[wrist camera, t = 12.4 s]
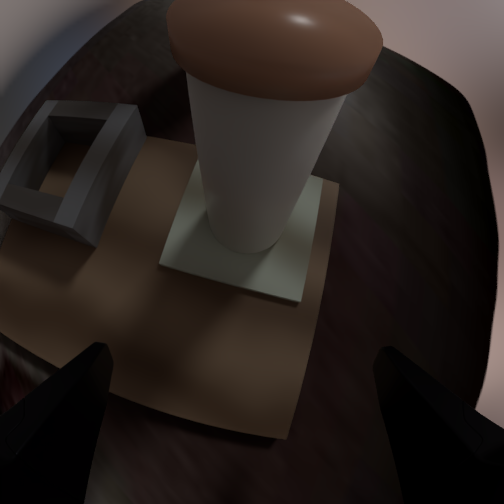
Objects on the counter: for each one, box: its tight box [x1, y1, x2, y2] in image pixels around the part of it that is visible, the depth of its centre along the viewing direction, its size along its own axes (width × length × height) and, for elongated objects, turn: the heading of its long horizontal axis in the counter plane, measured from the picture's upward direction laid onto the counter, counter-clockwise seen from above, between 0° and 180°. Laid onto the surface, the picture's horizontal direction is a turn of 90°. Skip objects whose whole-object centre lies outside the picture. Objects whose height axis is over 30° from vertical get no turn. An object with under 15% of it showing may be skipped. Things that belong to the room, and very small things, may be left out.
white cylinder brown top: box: [166, 0, 383, 254], centre depth 11 cm, size 5×5×13 cm
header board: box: [0, 101, 339, 439], centre depth 16 cm, size 17×23×5 cm
